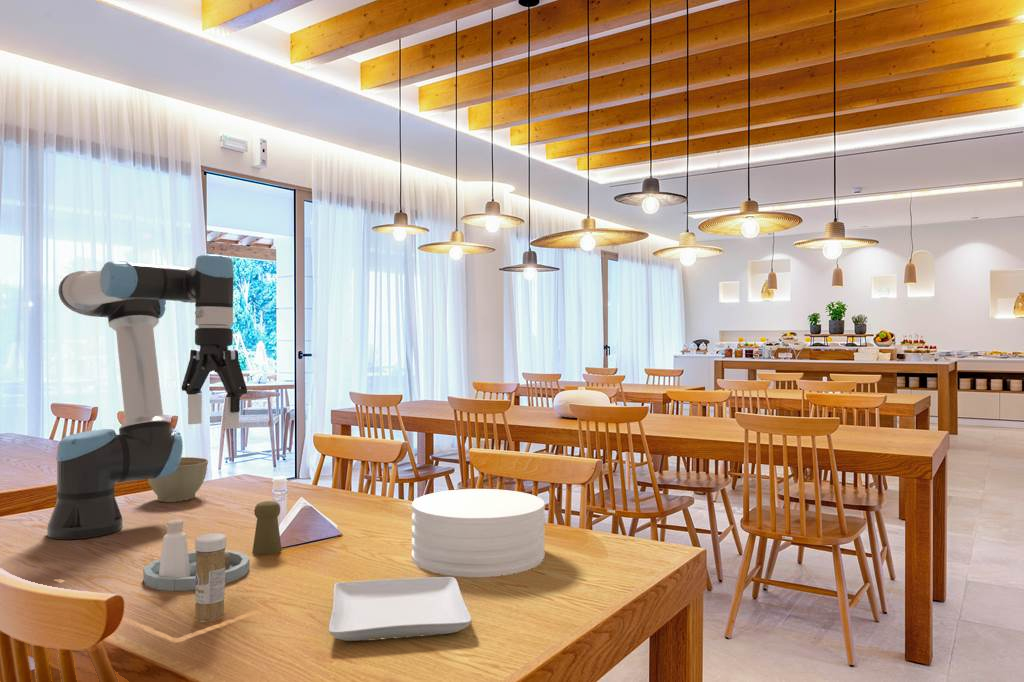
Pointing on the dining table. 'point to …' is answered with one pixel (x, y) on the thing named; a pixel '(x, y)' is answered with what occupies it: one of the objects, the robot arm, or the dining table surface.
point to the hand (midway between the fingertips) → (212, 426)
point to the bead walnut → (227, 560)
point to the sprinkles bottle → (210, 577)
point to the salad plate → (397, 608)
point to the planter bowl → (181, 480)
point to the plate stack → (478, 532)
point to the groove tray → (191, 581)
